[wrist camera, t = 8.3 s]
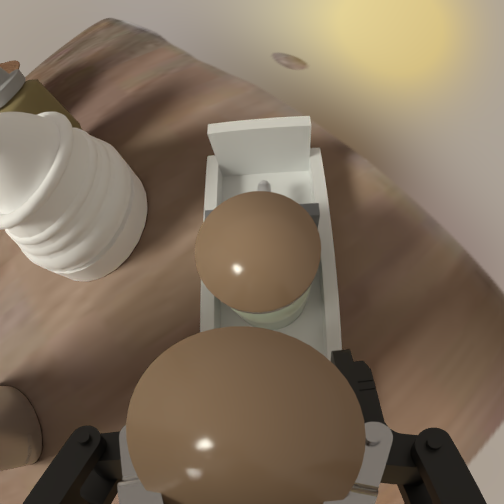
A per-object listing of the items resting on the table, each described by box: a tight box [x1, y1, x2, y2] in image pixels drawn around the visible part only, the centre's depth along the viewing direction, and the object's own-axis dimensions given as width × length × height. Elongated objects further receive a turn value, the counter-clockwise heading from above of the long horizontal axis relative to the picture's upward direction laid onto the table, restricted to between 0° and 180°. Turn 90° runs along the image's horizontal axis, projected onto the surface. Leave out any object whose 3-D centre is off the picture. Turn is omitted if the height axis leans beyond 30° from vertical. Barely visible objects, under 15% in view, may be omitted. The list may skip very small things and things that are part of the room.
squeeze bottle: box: [0, 67, 82, 130], centre depth 24 cm, size 8×8×18 cm
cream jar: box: [126, 326, 366, 504], centre depth 11 cm, size 6×6×10 cm
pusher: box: [205, 180, 320, 229], centre depth 23 cm, size 5×7×6 cm
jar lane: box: [200, 116, 342, 361], centre depth 21 cm, size 24×10×7 cm, turn 1°
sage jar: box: [195, 191, 321, 330], centre depth 19 cm, size 6×6×10 cm
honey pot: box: [0, 112, 148, 281], centre depth 21 cm, size 13×13×18 cm
